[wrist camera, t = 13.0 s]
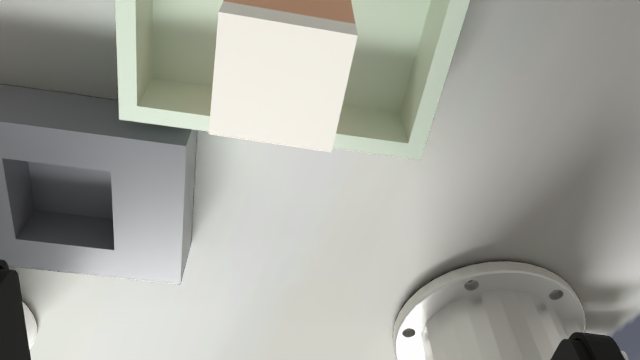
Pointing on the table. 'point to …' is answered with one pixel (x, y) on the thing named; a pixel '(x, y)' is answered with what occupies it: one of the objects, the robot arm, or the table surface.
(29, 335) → the jar
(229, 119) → the plug
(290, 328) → the table surface
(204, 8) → the tray
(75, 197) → the grey block
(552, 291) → the robot arm
